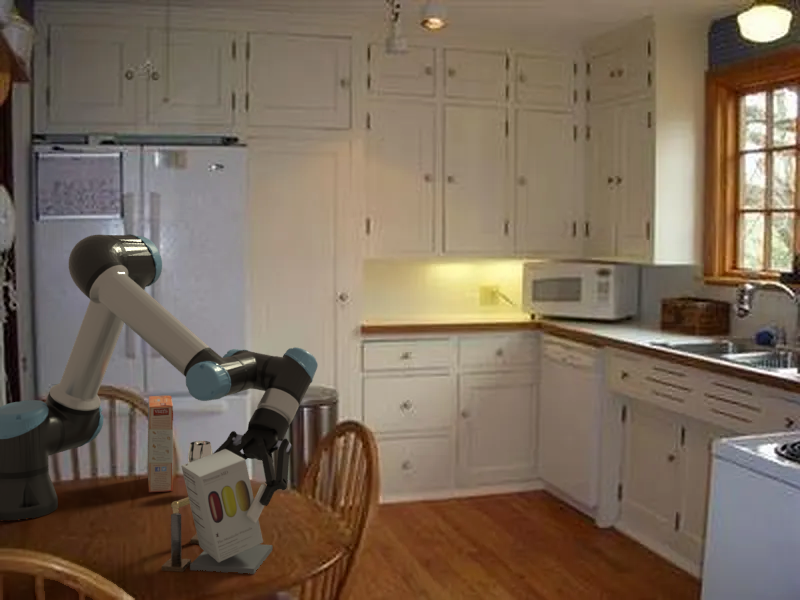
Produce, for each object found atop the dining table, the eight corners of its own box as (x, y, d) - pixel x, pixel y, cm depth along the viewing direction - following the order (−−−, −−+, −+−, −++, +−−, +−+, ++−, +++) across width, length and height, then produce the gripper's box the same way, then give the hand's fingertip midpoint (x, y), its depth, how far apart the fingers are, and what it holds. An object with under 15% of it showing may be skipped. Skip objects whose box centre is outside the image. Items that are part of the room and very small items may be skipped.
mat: (190, 570, 155) (190, 564, 155) (213, 546, 167) (212, 541, 167) (253, 574, 153) (253, 568, 153) (272, 550, 165) (272, 545, 165)
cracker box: (174, 491, 202) (173, 405, 200) (148, 493, 200) (147, 406, 199) (172, 476, 215) (172, 394, 214) (148, 477, 214) (147, 395, 212)
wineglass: (189, 489, 204) (189, 440, 203) (214, 489, 204) (214, 440, 204) (186, 496, 198) (186, 446, 197) (211, 496, 199) (211, 445, 198)
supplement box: (218, 564, 152) (197, 477, 149) (198, 547, 160) (178, 465, 156) (265, 541, 158) (246, 457, 154) (244, 527, 165) (225, 447, 162)
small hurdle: (152, 569, 155) (151, 516, 154) (189, 535, 173) (189, 487, 172) (182, 571, 154) (182, 517, 153) (216, 537, 172) (216, 488, 171)
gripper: (331, 434, 166) (285, 534, 154) (233, 420, 178) (183, 513, 165) (316, 412, 161) (268, 514, 149) (216, 400, 172) (163, 493, 160)
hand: (223, 513), depth 157 cm, fingers closed on supplement box, 12 cm apart
